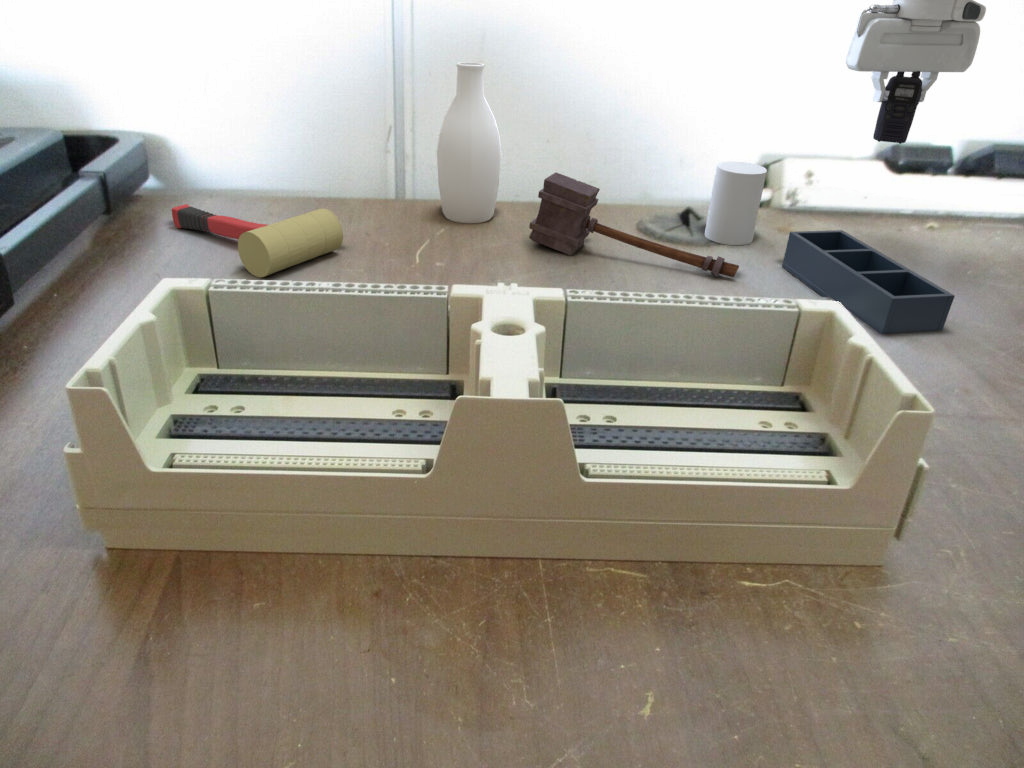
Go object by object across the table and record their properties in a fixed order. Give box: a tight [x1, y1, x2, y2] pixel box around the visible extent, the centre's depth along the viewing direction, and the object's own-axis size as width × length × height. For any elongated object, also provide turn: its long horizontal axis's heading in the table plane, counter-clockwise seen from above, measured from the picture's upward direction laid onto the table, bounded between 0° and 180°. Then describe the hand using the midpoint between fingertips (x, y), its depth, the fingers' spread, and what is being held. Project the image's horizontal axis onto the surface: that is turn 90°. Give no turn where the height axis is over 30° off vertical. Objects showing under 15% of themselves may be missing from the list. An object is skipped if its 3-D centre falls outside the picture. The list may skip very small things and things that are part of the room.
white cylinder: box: [704, 161, 768, 246], centre depth 130 cm, size 8×8×12 cm
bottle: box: [436, 61, 502, 224], centre depth 131 cm, size 11×11×25 cm
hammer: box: [528, 172, 740, 278], centre depth 119 cm, size 7×33×10 cm, turn 66°
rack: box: [781, 229, 956, 335], centre depth 110 cm, size 9×26×6 cm, turn 12°
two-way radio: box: [872, 71, 923, 145], centre depth 122 cm, size 6×4×15 cm
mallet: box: [171, 203, 344, 278], centre depth 118 cm, size 14×6×30 cm
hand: (898, 101), depth 123 cm, fingers closed on two-way radio, 5 cm apart
